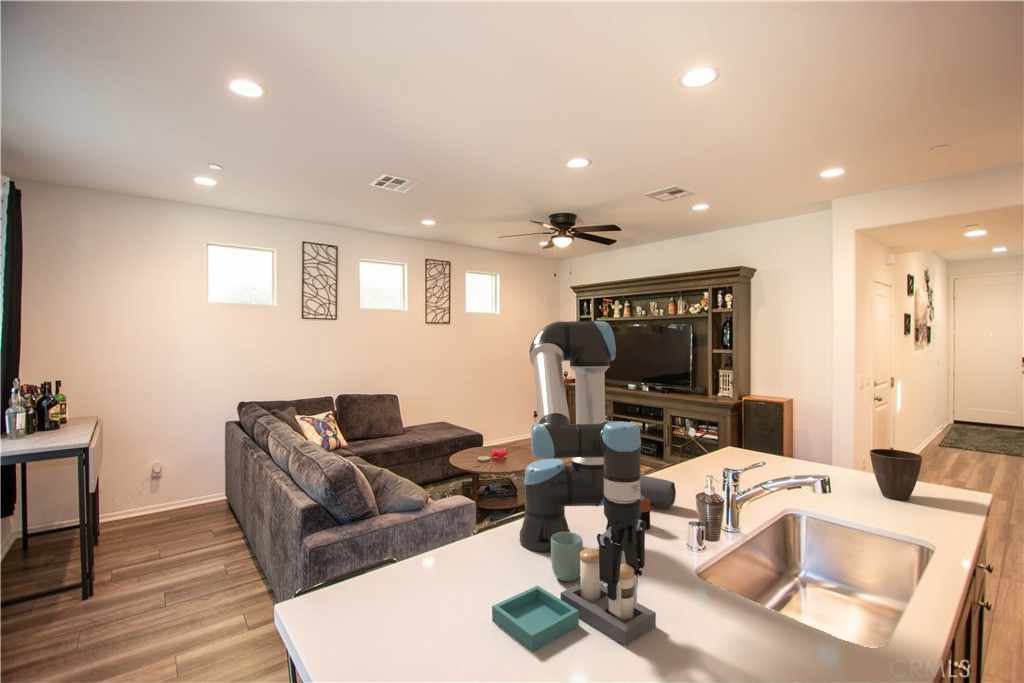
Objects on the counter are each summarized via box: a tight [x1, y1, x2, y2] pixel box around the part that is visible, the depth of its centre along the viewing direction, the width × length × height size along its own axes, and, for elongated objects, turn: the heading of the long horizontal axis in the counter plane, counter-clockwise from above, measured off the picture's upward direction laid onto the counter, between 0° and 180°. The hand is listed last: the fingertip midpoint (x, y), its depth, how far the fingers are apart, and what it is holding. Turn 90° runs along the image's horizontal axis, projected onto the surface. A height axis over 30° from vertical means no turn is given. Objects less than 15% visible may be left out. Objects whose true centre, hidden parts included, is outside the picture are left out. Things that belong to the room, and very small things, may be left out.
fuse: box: [580, 548, 602, 604], centre depth 107 cm, size 5×5×12 cm
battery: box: [639, 495, 651, 530], centre depth 151 cm, size 4×7×10 cm, turn 16°
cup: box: [550, 531, 584, 583], centre depth 120 cm, size 8×8×10 cm
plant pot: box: [869, 448, 923, 501], centre depth 173 cm, size 15×15×16 cm
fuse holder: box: [560, 582, 657, 648], centre depth 103 cm, size 18×10×3 cm, turn 38°
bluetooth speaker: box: [640, 474, 677, 507], centre depth 171 cm, size 23×9×10 cm, turn 55°
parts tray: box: [491, 585, 580, 652], centre depth 101 cm, size 13×13×3 cm
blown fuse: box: [612, 563, 634, 624], centre depth 100 cm, size 5×5×12 cm
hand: (622, 608), depth 100 cm, fingers closed on blown fuse, 4 cm apart
